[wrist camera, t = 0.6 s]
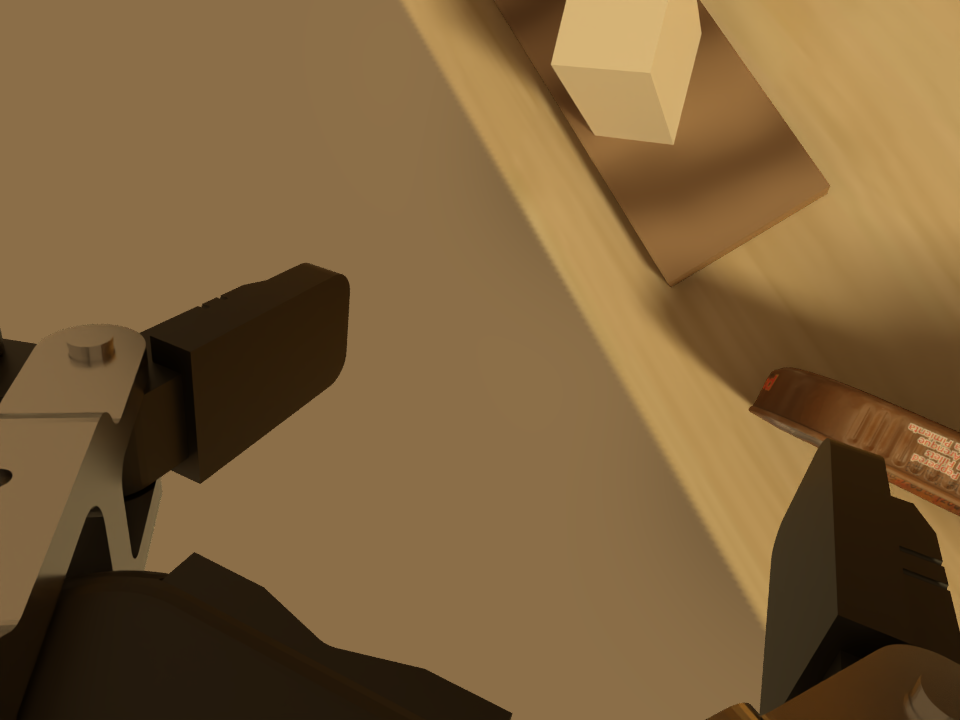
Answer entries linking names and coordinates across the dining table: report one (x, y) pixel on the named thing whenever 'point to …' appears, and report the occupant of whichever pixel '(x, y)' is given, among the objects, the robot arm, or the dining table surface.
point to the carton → (628, 64)
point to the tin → (866, 431)
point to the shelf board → (689, 152)
